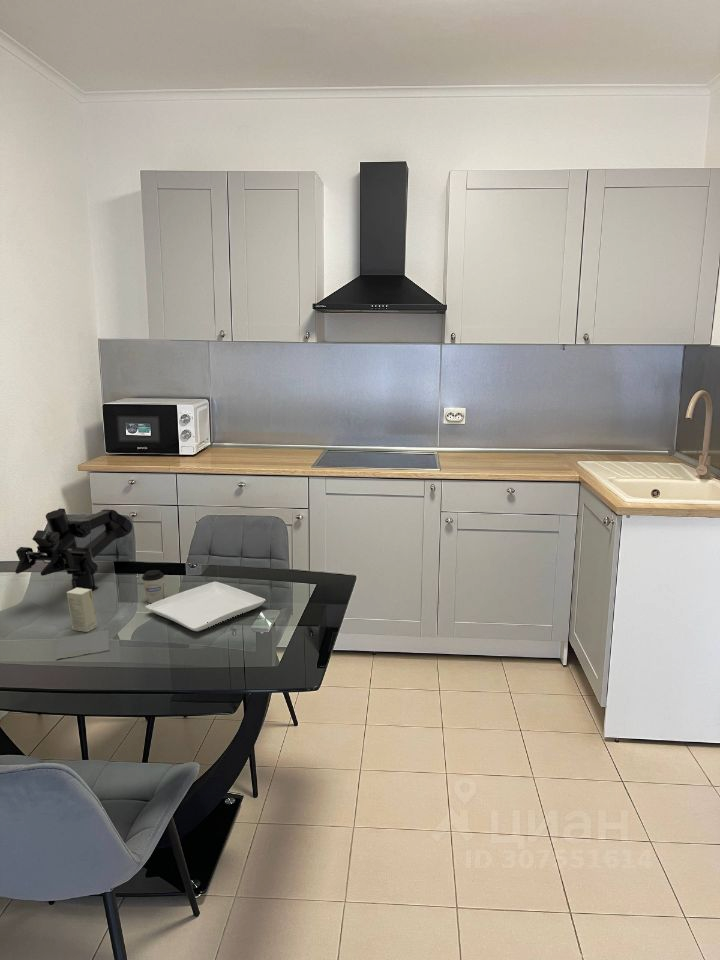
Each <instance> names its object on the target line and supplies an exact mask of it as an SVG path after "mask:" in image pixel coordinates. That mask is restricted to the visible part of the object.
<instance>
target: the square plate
mask: <svg viewBox="0 0 720 960" xmlns="http://www.w3.org/2000/svg"><path fill="white" fill-rule="evenodd" d="M265 601H267V600H266V599H265V598H264V597H261V596H259V595H255V594H253V593H251V592H248V591H245V590H242V589H240V588H236V587H233V586H231V585H228V584H226V583H222V582H218V581H212V582H209V583H206V584H203V585H199V586H196V587H193V588H191V589H190V588H189V589H187V590H185V591H181V592H179V593H176V594H173V595H170V596H168V597H165V598H163V599H162V600H159V601H157V602H154V603H152V604H150V603H148V604H147V605H145V606H144V608H146V609H147V610H150V611H151V612H152V613H154V614H156V615H158V616H161V617H163V618H165V619H168V620H170V621H173V622H174V623H177V624H178V625H181V626H183V627H185V628H187V629H188V630H191V631H194V632H201V631H203V630H205V629H208V627H209V628H212V627H213V625H214V626H216V625H215V624H217V625H219V624H221V623H223V622H222V621H224V622H226V621H228V620H227V619H229V620H231V619H233V618H232V617H234V618H236V617H238V616H237V615H239V616H241V615H242V613H243V614H245V613H247V612H250V611H252V610H255V609H257V608H259V607H260V606H262V605H263V603H265ZM240 614H241V615H240ZM235 616H236V617H235ZM230 618H231V619H230ZM225 620H226V621H225ZM207 622H208V623H207ZM220 622H221V623H220ZM218 623H219V624H218ZM211 626H212V627H211Z"/></svg>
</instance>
